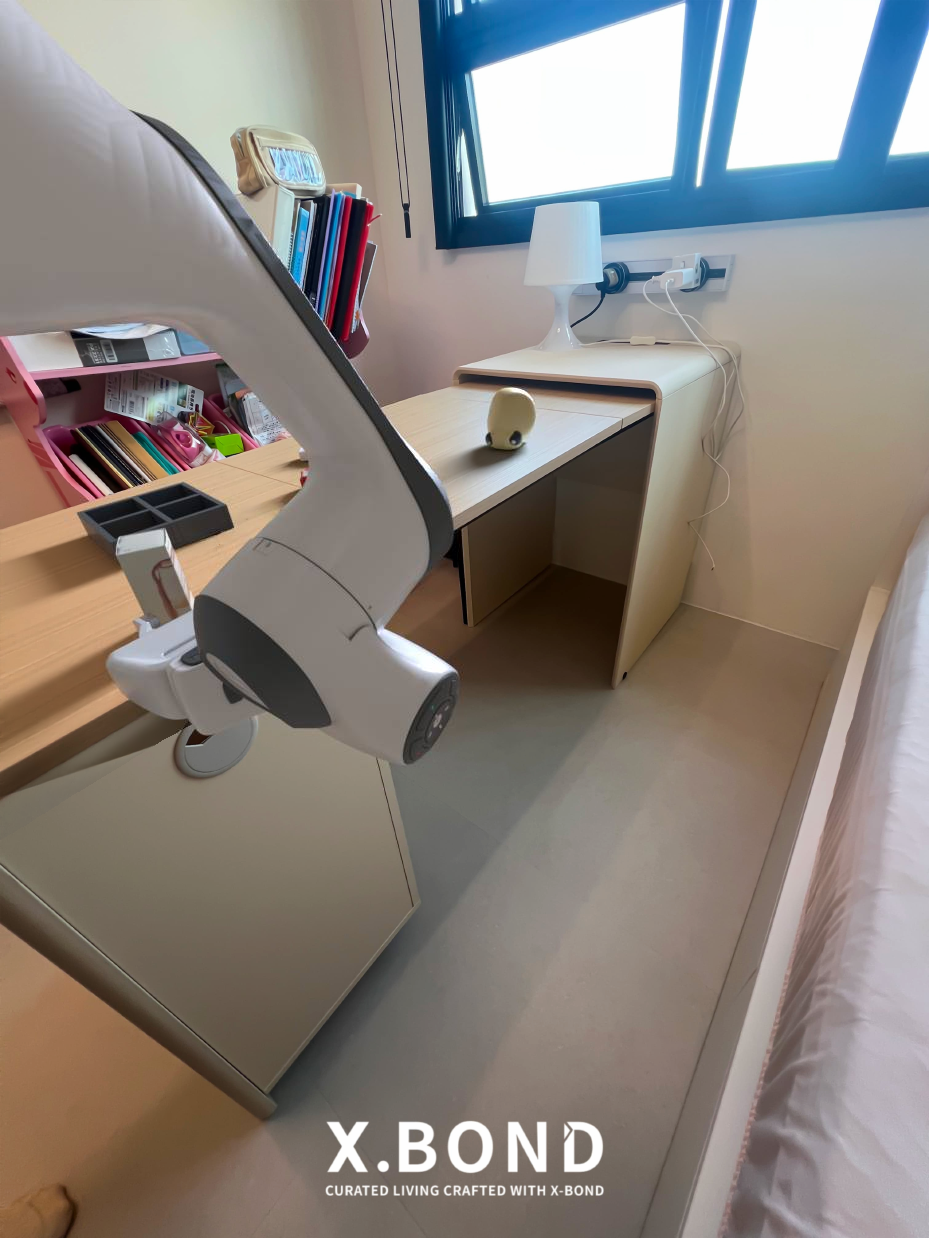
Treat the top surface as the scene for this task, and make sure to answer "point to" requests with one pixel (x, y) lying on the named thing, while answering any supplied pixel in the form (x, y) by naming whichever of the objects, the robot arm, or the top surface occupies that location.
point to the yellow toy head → (510, 419)
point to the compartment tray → (158, 517)
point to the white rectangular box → (155, 574)
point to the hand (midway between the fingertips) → (191, 598)
